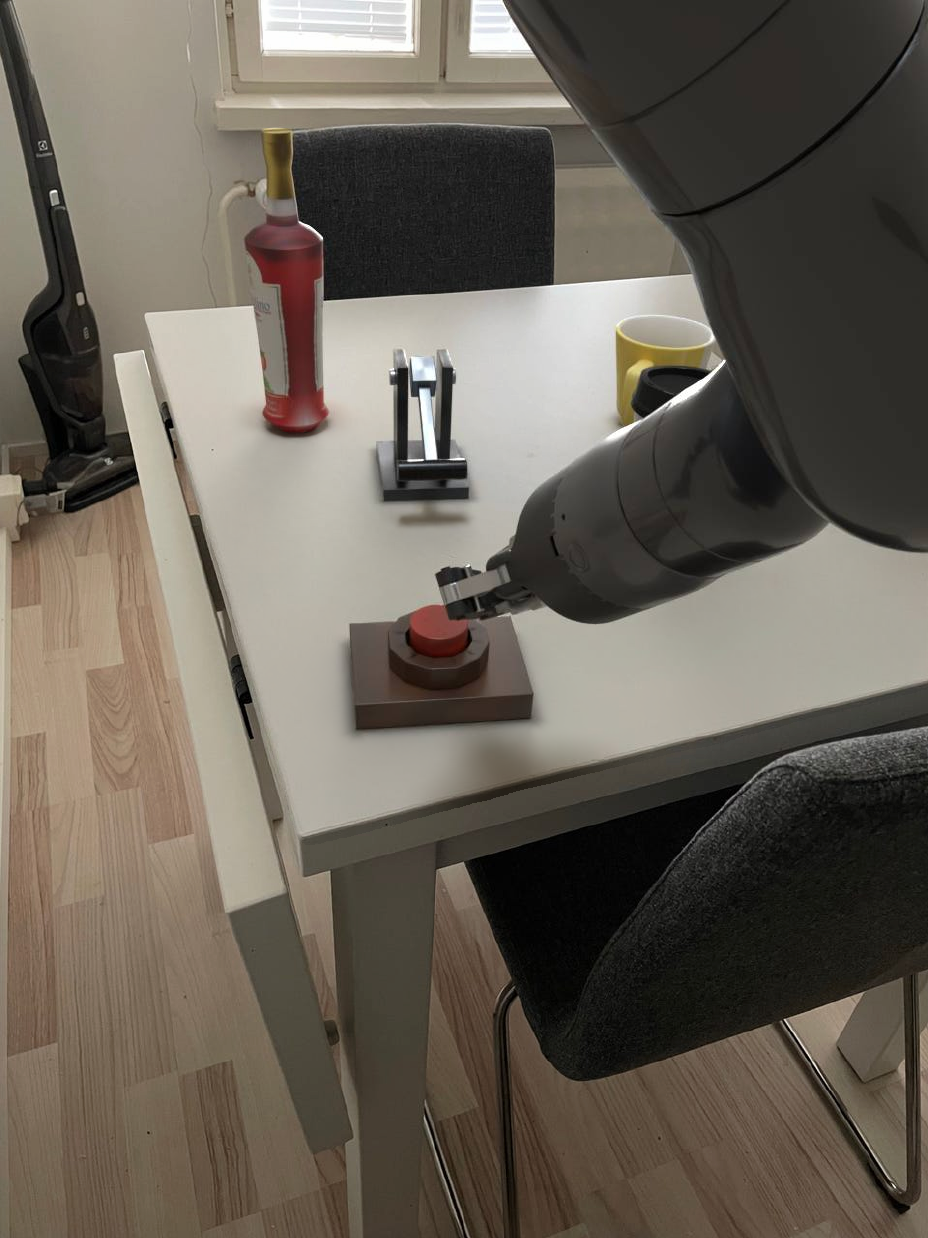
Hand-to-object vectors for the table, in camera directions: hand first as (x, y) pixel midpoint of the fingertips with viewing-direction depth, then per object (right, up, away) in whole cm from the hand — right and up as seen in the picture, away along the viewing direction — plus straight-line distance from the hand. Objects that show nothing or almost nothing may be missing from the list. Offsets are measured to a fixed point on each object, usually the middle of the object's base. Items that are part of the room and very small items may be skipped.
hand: (484, 601), depth 58 cm
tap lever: (-5, +16, +29) cm, 33 cm away
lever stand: (-5, +13, +35) cm, 38 cm away
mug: (+18, +19, +46) cm, 53 cm away
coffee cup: (+16, +6, +28) cm, 33 cm away
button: (-3, -3, +8) cm, 9 cm away
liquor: (-19, +19, +43) cm, 51 cm away
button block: (-3, -5, +11) cm, 12 cm away
